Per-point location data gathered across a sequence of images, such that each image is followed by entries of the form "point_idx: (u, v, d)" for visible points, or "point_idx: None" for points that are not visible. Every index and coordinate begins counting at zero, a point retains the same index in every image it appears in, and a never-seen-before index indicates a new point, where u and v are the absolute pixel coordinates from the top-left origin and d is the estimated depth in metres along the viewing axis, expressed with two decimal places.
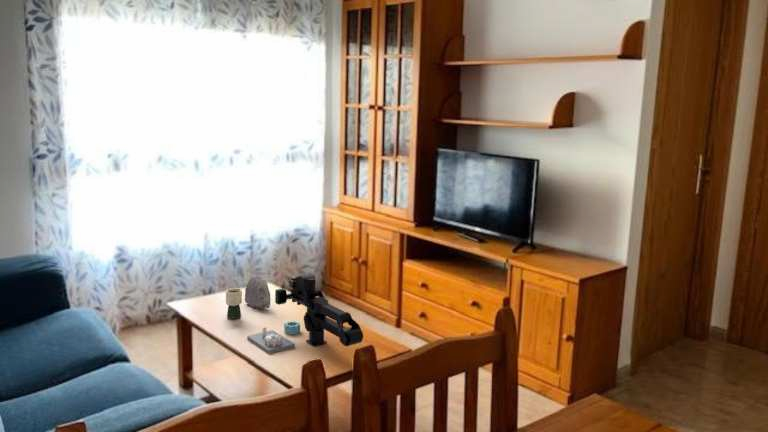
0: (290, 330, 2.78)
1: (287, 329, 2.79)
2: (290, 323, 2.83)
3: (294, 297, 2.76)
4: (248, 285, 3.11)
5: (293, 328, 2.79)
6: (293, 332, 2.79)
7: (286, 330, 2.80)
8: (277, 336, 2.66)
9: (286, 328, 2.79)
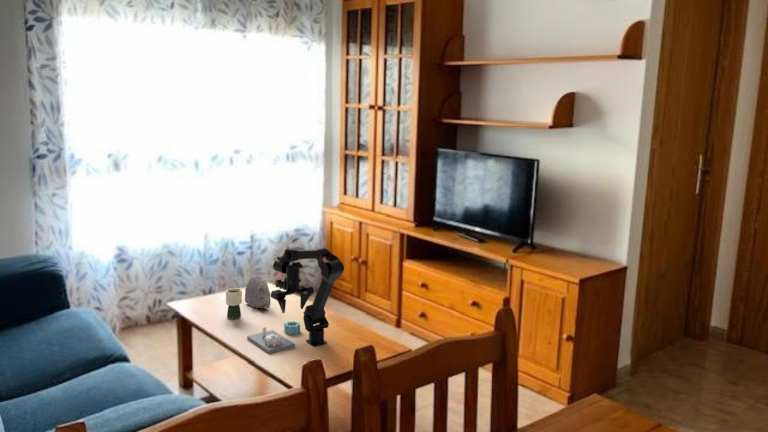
0: (290, 330, 2.78)
1: (287, 329, 2.79)
2: (290, 323, 2.83)
3: (287, 285, 2.76)
4: (248, 285, 3.11)
5: (293, 328, 2.79)
6: (293, 332, 2.79)
7: (286, 330, 2.80)
8: (277, 336, 2.66)
9: (286, 328, 2.79)
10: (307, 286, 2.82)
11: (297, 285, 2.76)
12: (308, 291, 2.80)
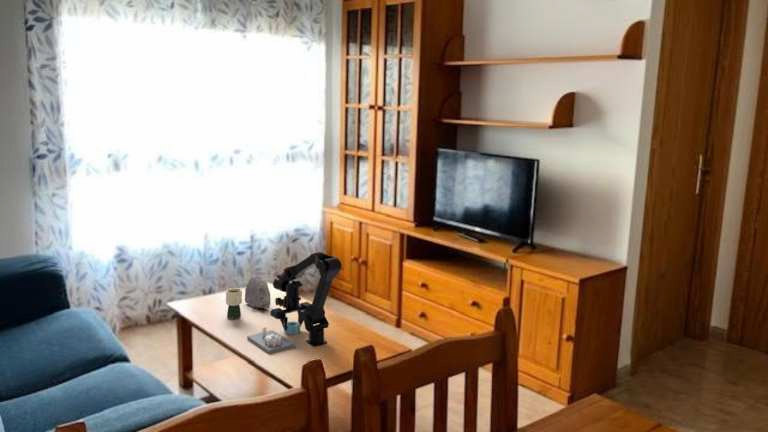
0: (290, 330, 2.78)
1: (287, 329, 2.79)
2: (290, 323, 2.83)
3: (287, 303, 2.78)
4: (248, 285, 3.11)
5: (293, 328, 2.79)
6: (293, 332, 2.79)
7: (286, 330, 2.80)
8: (277, 336, 2.66)
9: None
10: (307, 304, 2.84)
11: (297, 303, 2.78)
12: None
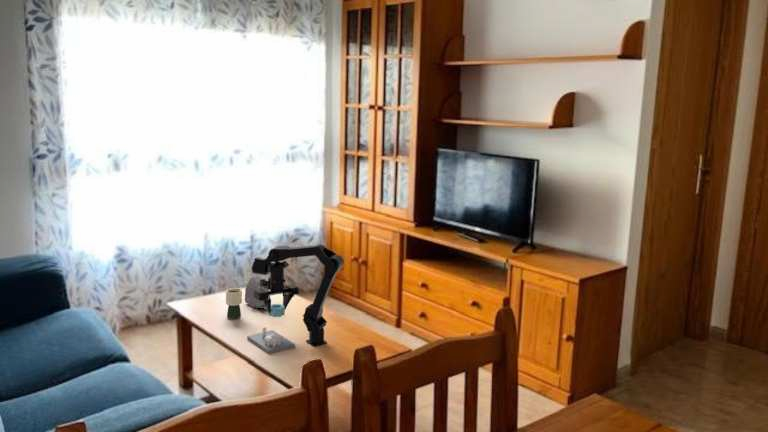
0: (274, 312, 2.70)
1: (271, 311, 2.71)
2: (275, 306, 2.75)
3: (271, 285, 2.70)
4: (248, 285, 3.11)
5: (277, 310, 2.71)
6: (277, 315, 2.71)
7: (270, 312, 2.72)
8: (277, 336, 2.66)
9: (270, 310, 2.71)
10: (292, 286, 2.75)
11: (281, 285, 2.70)
12: (293, 291, 2.73)
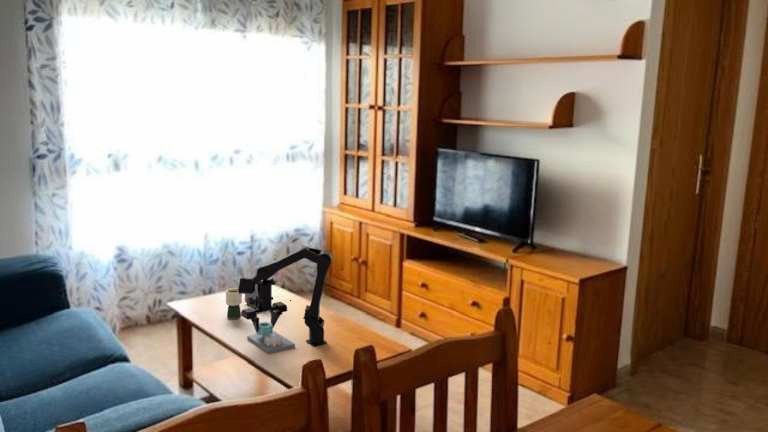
0: (262, 331, 2.67)
1: (259, 330, 2.67)
2: (262, 324, 2.71)
3: (258, 303, 2.66)
4: None
5: (265, 329, 2.67)
6: (265, 333, 2.67)
7: (258, 331, 2.68)
8: (277, 336, 2.66)
9: (258, 329, 2.67)
10: (280, 304, 2.72)
11: (269, 303, 2.66)
12: (281, 309, 2.70)
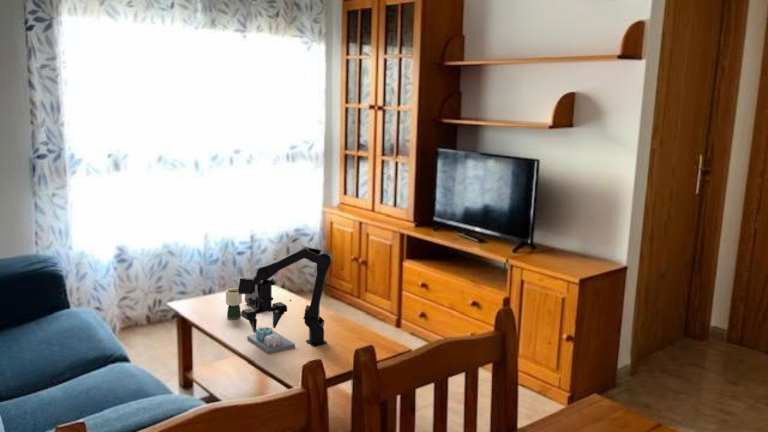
0: (262, 336, 2.67)
1: (259, 335, 2.68)
2: None
3: (258, 303, 2.66)
4: None
5: (265, 334, 2.67)
6: None
7: (258, 336, 2.68)
8: (277, 336, 2.66)
9: (258, 334, 2.68)
10: (280, 304, 2.72)
11: (269, 304, 2.66)
12: (280, 310, 2.70)
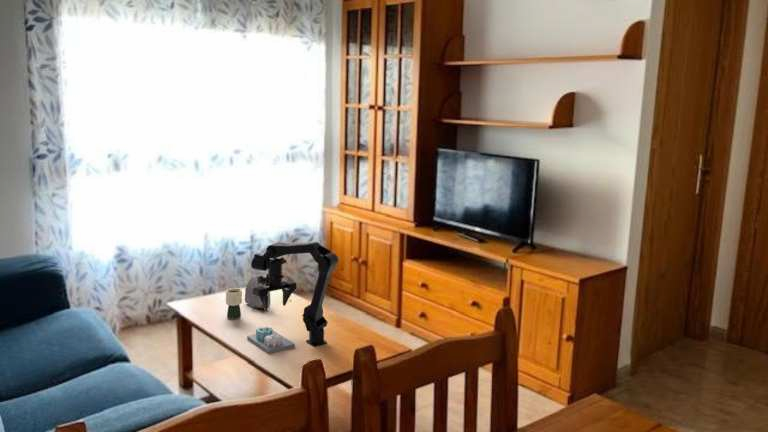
0: (262, 336, 2.67)
1: (259, 335, 2.68)
2: None
3: (269, 281, 2.72)
4: (248, 285, 3.11)
5: (265, 334, 2.67)
6: None
7: (258, 336, 2.68)
8: (277, 336, 2.66)
9: (258, 334, 2.68)
10: (289, 282, 2.79)
11: (279, 281, 2.73)
12: (291, 287, 2.77)
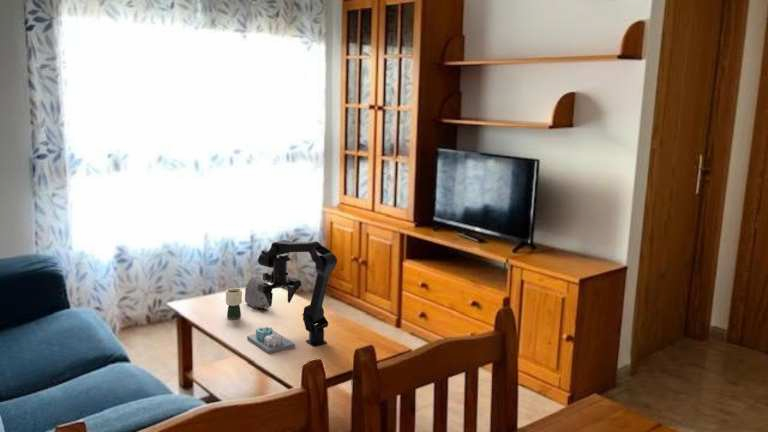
0: (262, 336, 2.67)
1: (259, 335, 2.68)
2: None
3: (274, 278, 2.76)
4: (248, 285, 3.11)
5: (265, 334, 2.67)
6: None
7: (258, 336, 2.68)
8: (277, 336, 2.66)
9: (258, 334, 2.68)
10: (294, 279, 2.82)
11: (284, 278, 2.76)
12: (295, 284, 2.80)
